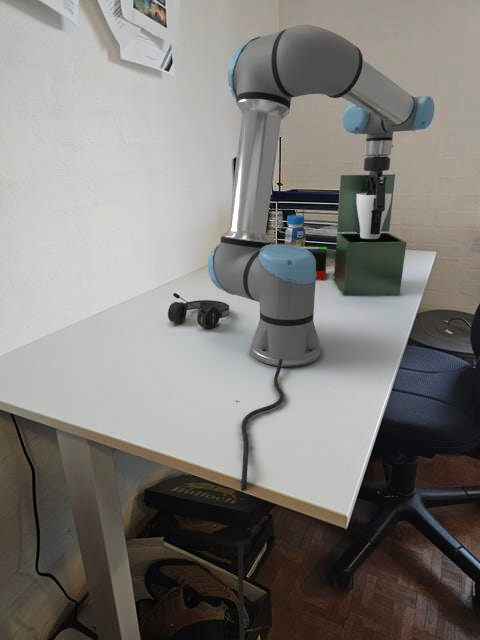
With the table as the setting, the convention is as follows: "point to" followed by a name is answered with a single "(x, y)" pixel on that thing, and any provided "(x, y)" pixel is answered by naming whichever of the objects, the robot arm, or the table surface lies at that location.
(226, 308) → the headset
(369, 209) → the cup
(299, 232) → the beverage bottle
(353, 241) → the bin
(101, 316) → the table surface
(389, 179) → the bin lid
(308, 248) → the puzzle toy
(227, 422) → the table surface
